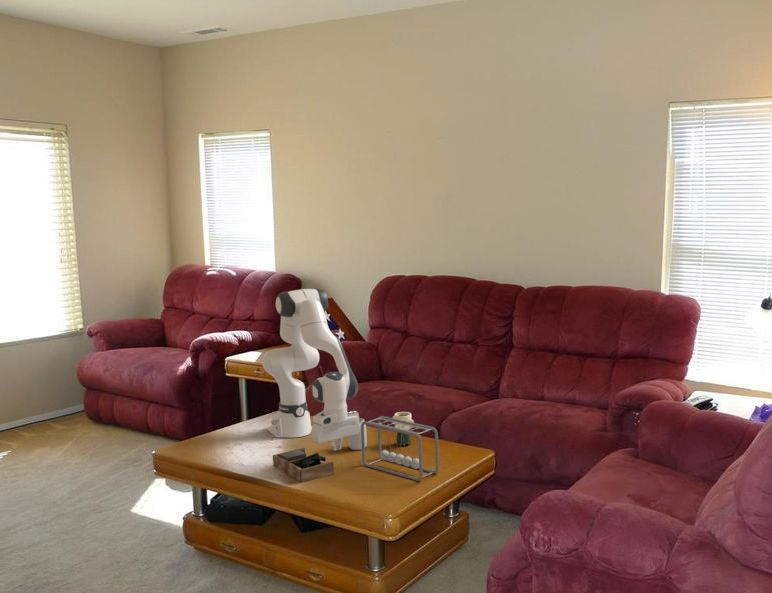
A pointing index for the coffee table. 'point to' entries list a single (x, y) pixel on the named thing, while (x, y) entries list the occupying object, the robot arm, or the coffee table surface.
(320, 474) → the walnut organizer
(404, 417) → the character mug
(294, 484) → the coffee table surface
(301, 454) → the block
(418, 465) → the newton's cradle
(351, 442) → the can
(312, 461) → the end cap
